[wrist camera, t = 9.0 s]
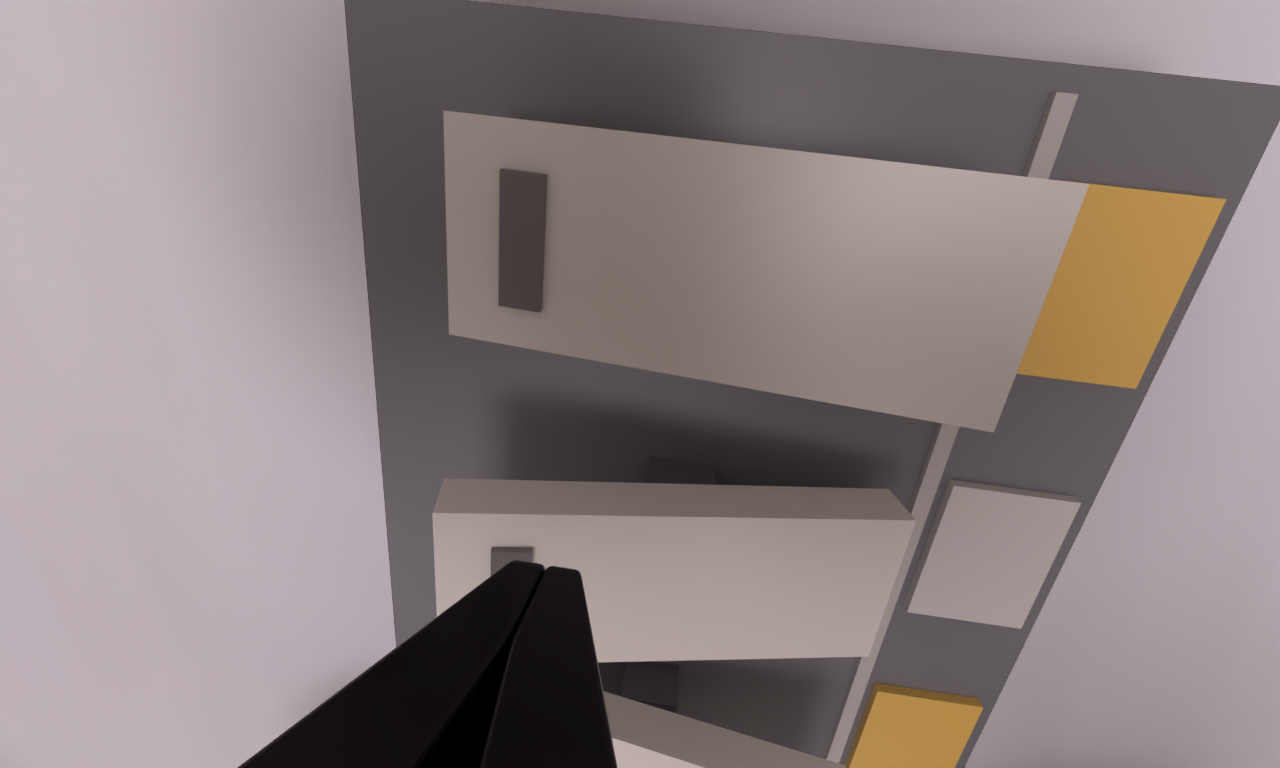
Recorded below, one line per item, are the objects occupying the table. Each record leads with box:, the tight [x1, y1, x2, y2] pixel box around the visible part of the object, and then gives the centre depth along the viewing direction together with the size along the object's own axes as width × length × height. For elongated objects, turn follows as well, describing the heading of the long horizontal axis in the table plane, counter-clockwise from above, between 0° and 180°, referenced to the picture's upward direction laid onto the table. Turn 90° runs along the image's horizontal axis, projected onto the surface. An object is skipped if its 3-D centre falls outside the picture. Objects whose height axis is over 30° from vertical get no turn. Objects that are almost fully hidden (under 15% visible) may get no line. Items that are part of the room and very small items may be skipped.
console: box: [344, 0, 1280, 768], centre depth 17 cm, size 18×22×5 cm
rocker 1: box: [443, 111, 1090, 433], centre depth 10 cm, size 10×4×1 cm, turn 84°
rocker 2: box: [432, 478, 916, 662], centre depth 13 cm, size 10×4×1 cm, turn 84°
